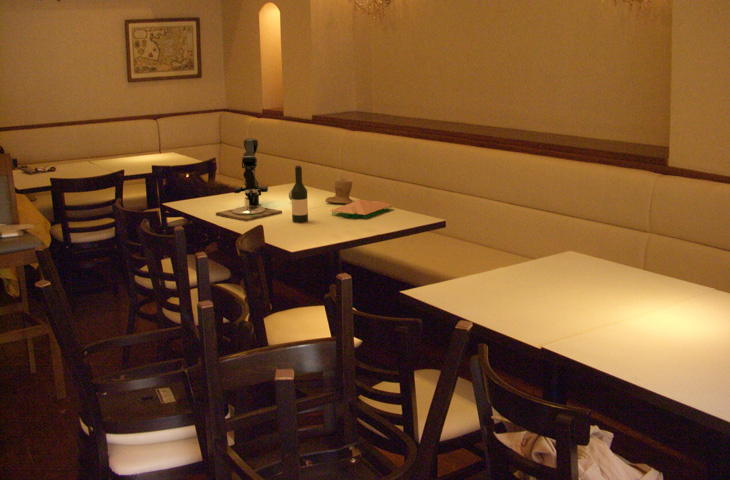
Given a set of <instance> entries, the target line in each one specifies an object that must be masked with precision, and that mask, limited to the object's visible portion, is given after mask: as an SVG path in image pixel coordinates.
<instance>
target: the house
mask: <svg viewBox="0 0 730 480" xmlns="http://www.w3.org/2000/svg"><path fill="white" fill-rule="evenodd" d="M392 206H393V204H391V203H388V202H384V201H379V200H372V201H370V200H364V199H358V200H355V201H353V202H351V203H347V204H344V205H341V206H338V207H336V208H333V209H331V210H329V211H330V212H332V213H331V216H336V215H337V217H340V214H343V217H344V218H347V219H350V215H351V218H356V217H357V218H361V220H362V219H363V220H366V219H367V215H368V219H369V218H371V216H372V217H375V216H377V215H379V214H383V213H386V212H389V211H390V210H392ZM384 209H387V210H384Z"/></svg>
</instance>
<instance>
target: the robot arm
mask: <svg viewBox="0 0 730 480" xmlns="http://www.w3.org/2000/svg"><path fill="white" fill-rule="evenodd" d="M243 148H244V149H245V151H244V153H243V156H242V158H241V168H242V169H243V170H244V171H243V178H244V187H243V186H235V188H234V189H233V194H240V193H241V192H244V195H245V197H247V198H248V199H249V206H250V205H252V206H258V207H260V206H261V205H262V204H261V203H260V196H262V193H267V192H268V191H269V186H268V185H259V182H258V180H257V179H256V178H257V177H256V168H257V166H258V158H257V156H256V155H257V153H258V148H259V140H257V139H255V138H246V139H244V140H243Z"/></svg>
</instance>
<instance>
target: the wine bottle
mask: <svg viewBox="0 0 730 480" xmlns="http://www.w3.org/2000/svg"><path fill="white" fill-rule="evenodd" d="M302 170H303V169H302V166H301V165H299V164H298V165H295V167H294V172H295V177H294V178H295V183H294V186H293V187H292V188H293V189H292V191H291V196H292V201H291V213H292V214H291V219H292V221H291V222H292V223H294V224H303V223H307V222H309V213H308V212H309V208H308V206H309V205H308V189H307V188H306V186H305V185H304V183H303V171H302Z"/></svg>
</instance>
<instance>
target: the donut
mask: <svg viewBox="0 0 730 480" xmlns="http://www.w3.org/2000/svg"><path fill="white" fill-rule="evenodd" d="M292 189H293V187H291V188H290V189H289V191H288V198H289V200H290V202H292V196H291V191H292Z"/></svg>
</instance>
